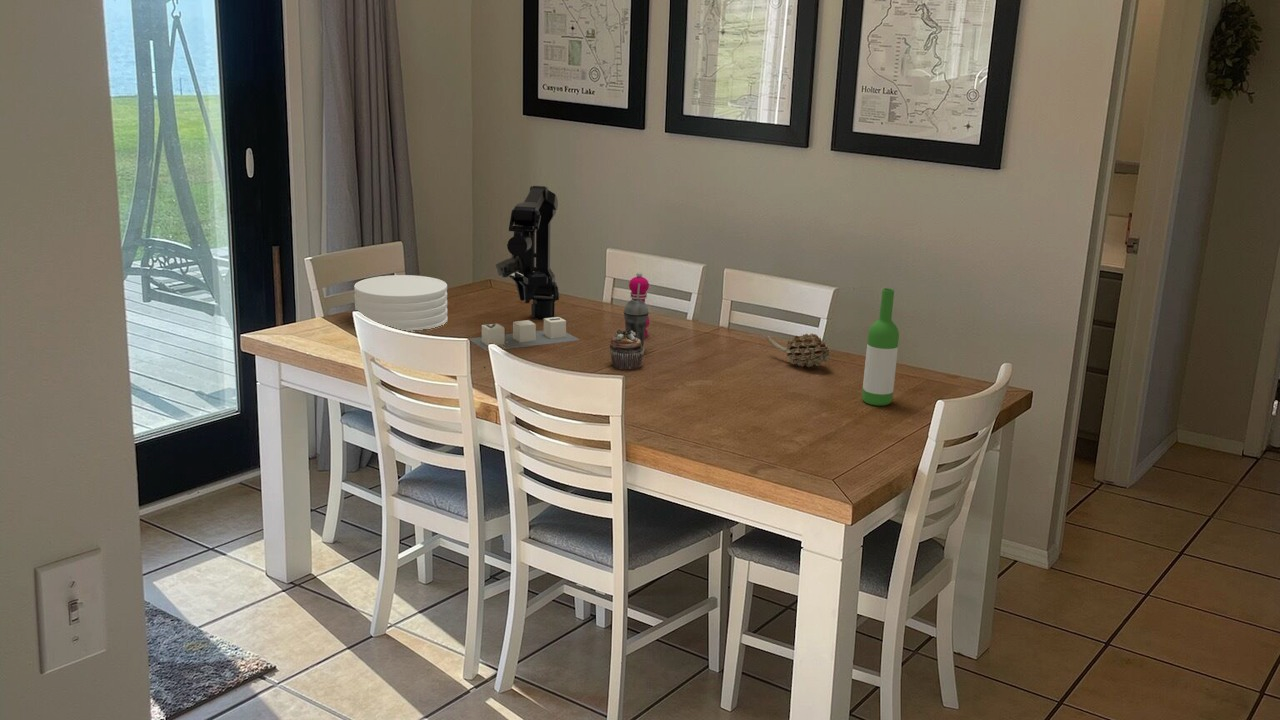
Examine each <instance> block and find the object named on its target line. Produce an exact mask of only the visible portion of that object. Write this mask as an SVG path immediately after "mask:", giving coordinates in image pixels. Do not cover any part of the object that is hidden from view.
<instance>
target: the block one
mask: <svg viewBox="0 0 1280 720" xmlns="http://www.w3.org/2000/svg"><path fill="white" fill-rule="evenodd" d="M543 330H544V332H543V335H545V336H547V337H549V338H550V339H553V338H562V337H566V332H567V320H565V319H564V318H561V317H560V316H555V317H553V318H544V319H543Z"/></svg>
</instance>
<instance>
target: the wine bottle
mask: <svg viewBox="0 0 1280 720" xmlns="http://www.w3.org/2000/svg"><path fill="white" fill-rule="evenodd" d="M894 293H895V289H893V288H888V287H887V288H883V289H882V291H881V300H880V308H879V316H878V319H877V320H876V321H874V323H872V324H871V325H870V327H869V329H868V334H867V342H866V343H867V345H866V352H865V362H864V363H865V364H864V372H863V382H862V395H861V398H862V401H863V402H865V403H866V404H868V405H871V406H879V407H880V406H881V407H882V406H883V407H884V406H888V405H889V404H891V403H892V401H893V397H894V395H893V394H894V388H895V378H896V369H897V368H896V367H897V361H898V349H899V340H900V339H899V338H900V333H899V332H900V331H899V329H898V327H897V325H896V324H895V323H894V322H893V319H892V316H893V306H894V298H895V297H894Z"/></svg>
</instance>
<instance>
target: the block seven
mask: <svg viewBox="0 0 1280 720" xmlns="http://www.w3.org/2000/svg"><path fill="white" fill-rule="evenodd" d="M505 329H506V328H505V327H504V326H502V325H501V324H500V323H491V324H482V325H481V337H482V342H483V343H484V344H486V345H488V344H489V343H493V344H496V345H500V344H501V345H502V344H504V335H505V333H506V332H505ZM497 343H498V344H497Z"/></svg>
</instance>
